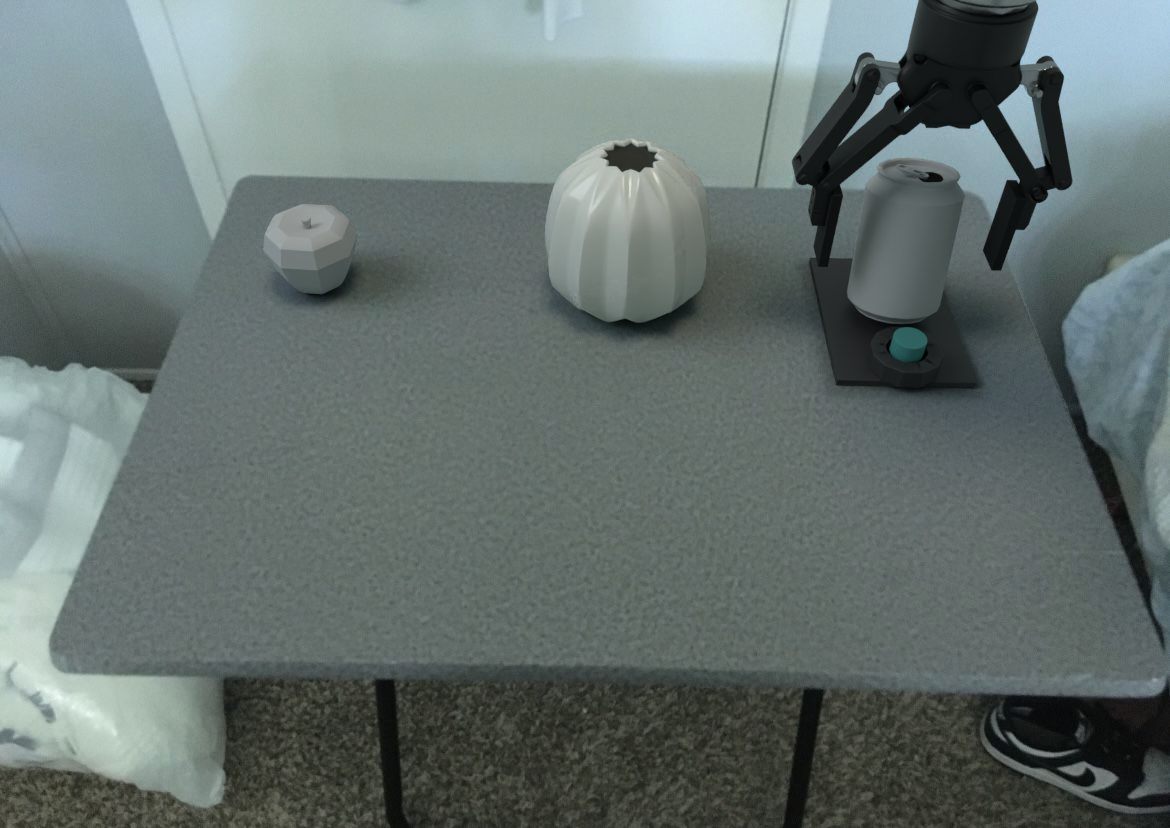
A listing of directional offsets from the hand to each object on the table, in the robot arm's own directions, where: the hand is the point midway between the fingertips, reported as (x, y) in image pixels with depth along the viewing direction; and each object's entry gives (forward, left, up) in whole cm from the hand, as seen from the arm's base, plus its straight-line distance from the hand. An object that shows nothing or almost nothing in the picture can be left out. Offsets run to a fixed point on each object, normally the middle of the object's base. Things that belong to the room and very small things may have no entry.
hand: (905, 259), depth 82 cm
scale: (0, 0, -7) cm, 7 cm away
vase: (+15, +17, -7) cm, 23 cm away
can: (0, 0, -5) cm, 5 cm away
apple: (+30, +39, -7) cm, 49 cm away
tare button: (-5, +3, -5) cm, 7 cm away
